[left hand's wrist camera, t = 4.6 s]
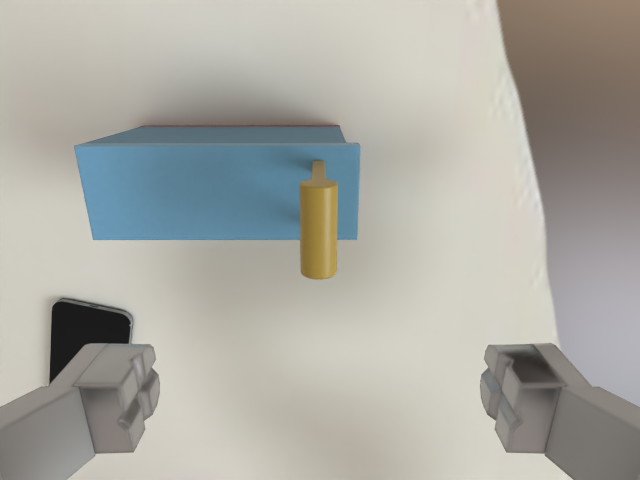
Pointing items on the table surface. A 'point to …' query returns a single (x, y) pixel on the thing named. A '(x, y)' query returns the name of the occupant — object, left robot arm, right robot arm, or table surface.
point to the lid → (225, 194)
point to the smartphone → (84, 330)
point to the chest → (228, 134)
